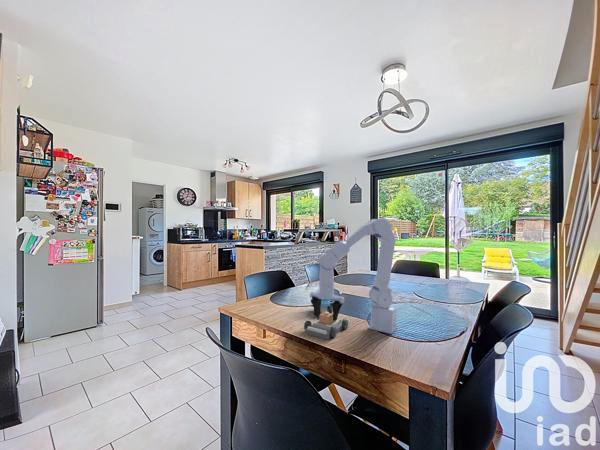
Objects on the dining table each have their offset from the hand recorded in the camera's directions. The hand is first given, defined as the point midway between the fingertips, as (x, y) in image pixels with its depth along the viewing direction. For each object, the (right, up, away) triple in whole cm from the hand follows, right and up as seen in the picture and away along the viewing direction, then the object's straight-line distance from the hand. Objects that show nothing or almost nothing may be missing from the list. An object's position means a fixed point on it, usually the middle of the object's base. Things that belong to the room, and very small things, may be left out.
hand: (326, 318), depth 103 cm
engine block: (0, -3, 0) cm, 3 cm away
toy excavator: (+1, -5, +24) cm, 24 cm away
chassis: (0, -4, 0) cm, 4 cm away
